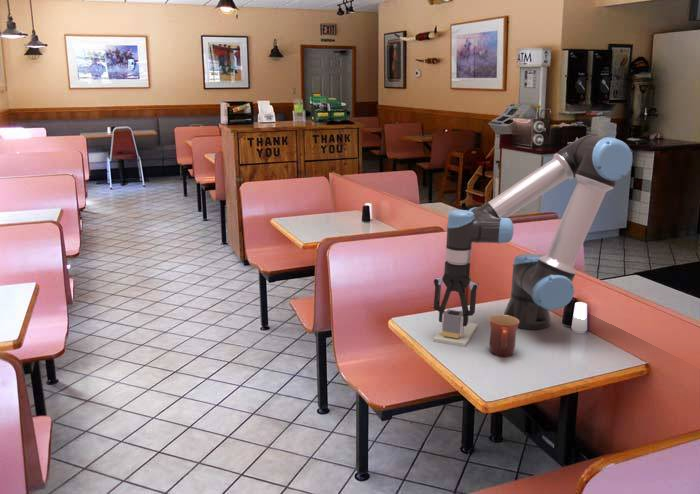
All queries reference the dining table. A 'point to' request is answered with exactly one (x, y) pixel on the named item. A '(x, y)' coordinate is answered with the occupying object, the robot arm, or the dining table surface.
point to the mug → (503, 334)
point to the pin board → (459, 341)
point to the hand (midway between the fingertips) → (452, 333)
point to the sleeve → (452, 323)
